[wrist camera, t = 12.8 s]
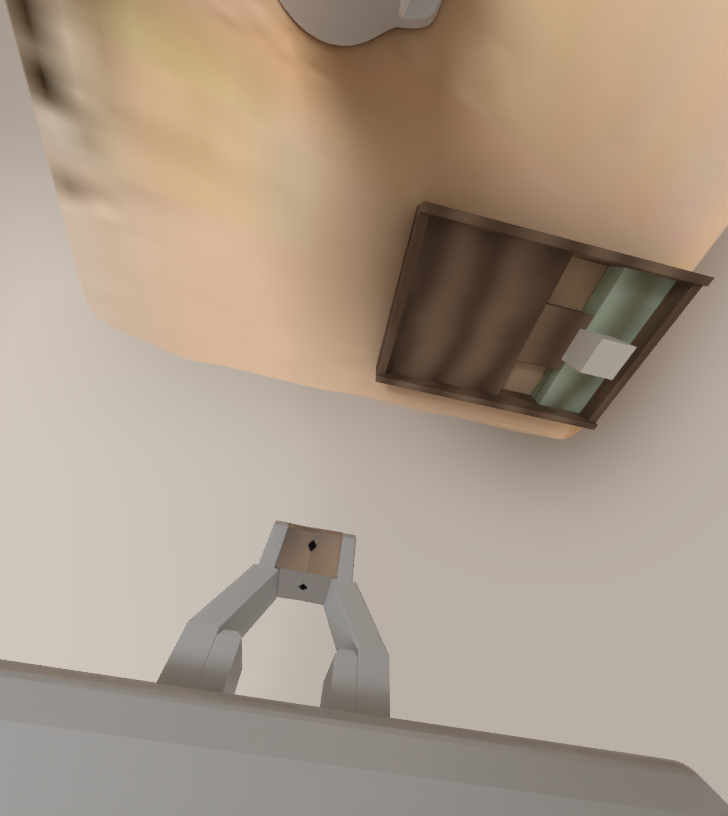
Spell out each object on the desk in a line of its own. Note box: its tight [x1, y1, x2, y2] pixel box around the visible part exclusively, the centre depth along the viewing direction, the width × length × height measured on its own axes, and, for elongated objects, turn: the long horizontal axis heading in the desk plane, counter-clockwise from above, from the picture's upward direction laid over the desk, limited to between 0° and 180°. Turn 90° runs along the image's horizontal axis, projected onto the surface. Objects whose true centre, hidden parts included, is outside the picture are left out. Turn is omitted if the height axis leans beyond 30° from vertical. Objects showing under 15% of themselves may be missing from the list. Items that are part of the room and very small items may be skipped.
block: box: [561, 329, 637, 380], centre depth 33 cm, size 4×4×4 cm
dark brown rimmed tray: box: [376, 201, 714, 430], centre depth 34 cm, size 30×19×5 cm, turn 78°
